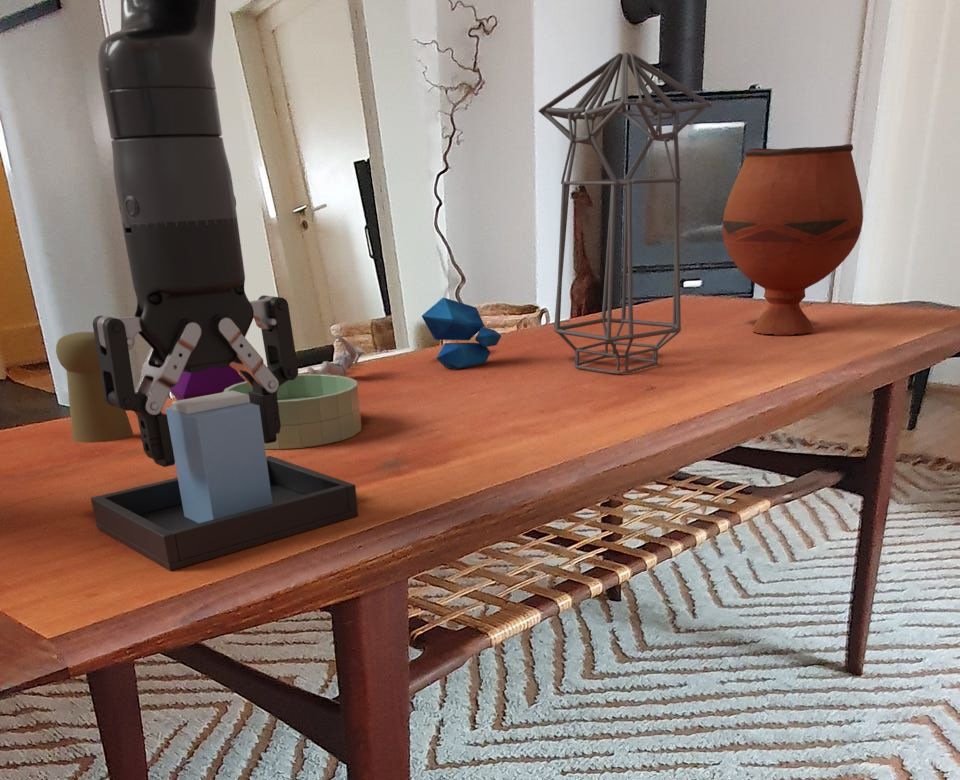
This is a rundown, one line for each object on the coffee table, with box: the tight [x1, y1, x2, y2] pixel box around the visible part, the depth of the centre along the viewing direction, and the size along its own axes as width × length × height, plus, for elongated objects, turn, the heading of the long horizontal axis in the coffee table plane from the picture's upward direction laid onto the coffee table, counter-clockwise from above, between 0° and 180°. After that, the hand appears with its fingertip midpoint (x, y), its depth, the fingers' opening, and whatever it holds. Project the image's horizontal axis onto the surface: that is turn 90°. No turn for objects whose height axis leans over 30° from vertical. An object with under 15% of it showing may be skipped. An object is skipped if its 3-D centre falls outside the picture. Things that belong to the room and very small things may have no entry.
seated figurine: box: [307, 335, 366, 377], centre depth 122 cm, size 8×5×12 cm
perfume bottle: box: [170, 366, 245, 401], centre depth 104 cm, size 8×8×18 cm
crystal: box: [421, 297, 502, 370], centre depth 128 cm, size 7×9×12 cm
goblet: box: [721, 143, 864, 336], centre depth 140 cm, size 19×19×25 cm
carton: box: [164, 391, 273, 523], centre depth 72 cm, size 5×5×9 cm
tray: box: [90, 455, 359, 572], centre depth 74 cm, size 16×13×2 cm
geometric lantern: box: [538, 52, 713, 375], centre depth 118 cm, size 16×16×35 cm
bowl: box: [223, 373, 362, 450], centre depth 97 cm, size 13×13×5 cm
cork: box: [55, 331, 135, 444], centre depth 95 cm, size 6×6×11 cm
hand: (216, 452), depth 72 cm, fingers open, 8 cm apart
